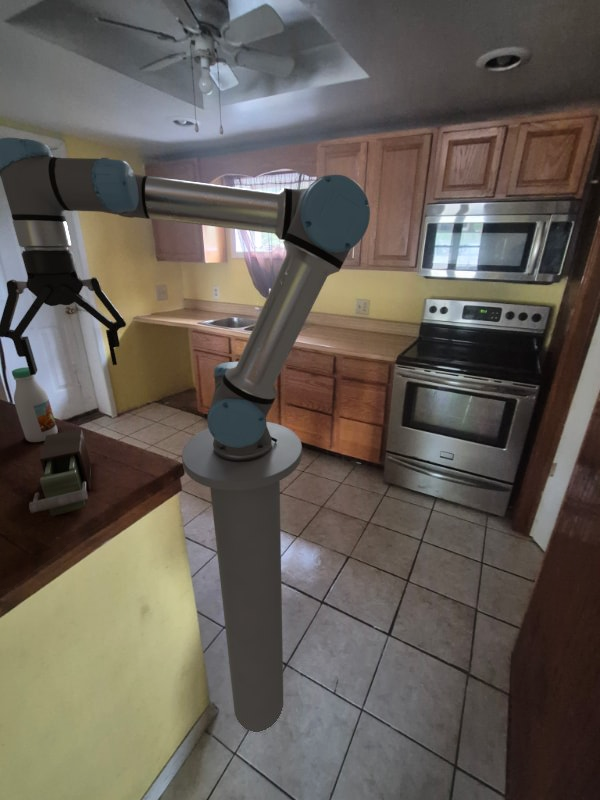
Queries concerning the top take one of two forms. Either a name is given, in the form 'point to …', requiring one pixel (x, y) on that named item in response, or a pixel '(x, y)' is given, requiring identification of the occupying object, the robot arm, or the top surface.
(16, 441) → the top surface
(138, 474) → the top surface
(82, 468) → the cabinet
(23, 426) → the milk bottle
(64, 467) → the drawer
